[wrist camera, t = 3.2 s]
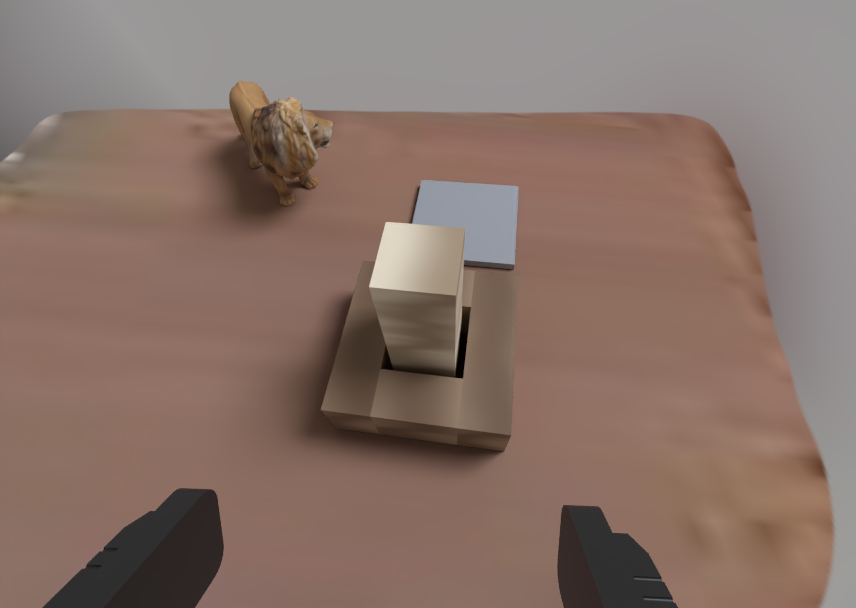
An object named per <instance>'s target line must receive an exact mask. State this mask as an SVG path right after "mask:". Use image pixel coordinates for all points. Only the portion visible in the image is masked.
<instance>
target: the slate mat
mask: <svg viewBox="0 0 856 608" xmlns="http://www.w3.org/2000/svg"><path fill="white" fill-rule="evenodd" d="M518 187H519V186H506V185H491V184H475V183H460V182H445V181H430V180H422V181H421V186H420V190H419V195H418V199H417V204H416V208H415V213H414V217H413V222H412V224H419V225H431V226H444V227H457V228H465V241H464V265H469V266H480V267H491V268H503V269H514V264H515V245H516V226H517V206H518Z"/></svg>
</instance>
